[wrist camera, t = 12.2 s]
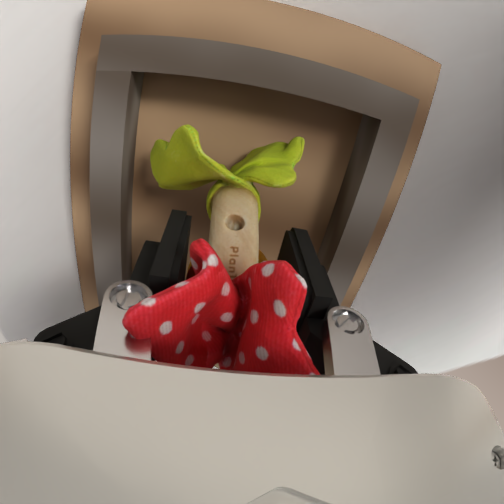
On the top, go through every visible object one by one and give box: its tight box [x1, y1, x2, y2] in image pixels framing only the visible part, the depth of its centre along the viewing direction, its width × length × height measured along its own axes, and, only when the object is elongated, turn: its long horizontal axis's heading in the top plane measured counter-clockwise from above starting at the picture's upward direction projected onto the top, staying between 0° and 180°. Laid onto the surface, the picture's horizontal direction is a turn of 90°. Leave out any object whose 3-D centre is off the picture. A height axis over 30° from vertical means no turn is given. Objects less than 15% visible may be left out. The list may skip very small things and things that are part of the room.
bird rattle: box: [122, 124, 320, 375], centre depth 12 cm, size 6×11×9 cm
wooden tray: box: [70, 0, 441, 312], centre depth 15 cm, size 20×17×4 cm
